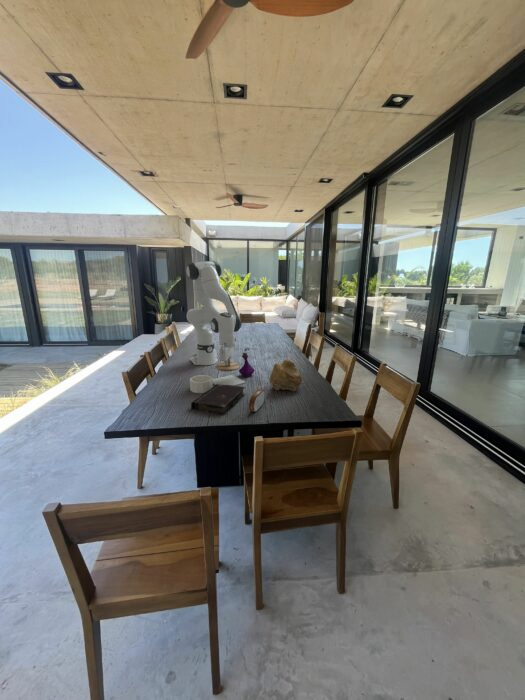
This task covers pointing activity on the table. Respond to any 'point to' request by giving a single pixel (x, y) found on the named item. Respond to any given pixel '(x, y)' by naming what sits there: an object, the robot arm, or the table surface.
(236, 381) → the trivet
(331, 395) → the table surface
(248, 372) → the perfume bottle
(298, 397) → the table surface
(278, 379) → the rough brown rock
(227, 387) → the diary
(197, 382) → the bowl
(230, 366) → the lid
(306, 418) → the table surface
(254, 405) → the tin
